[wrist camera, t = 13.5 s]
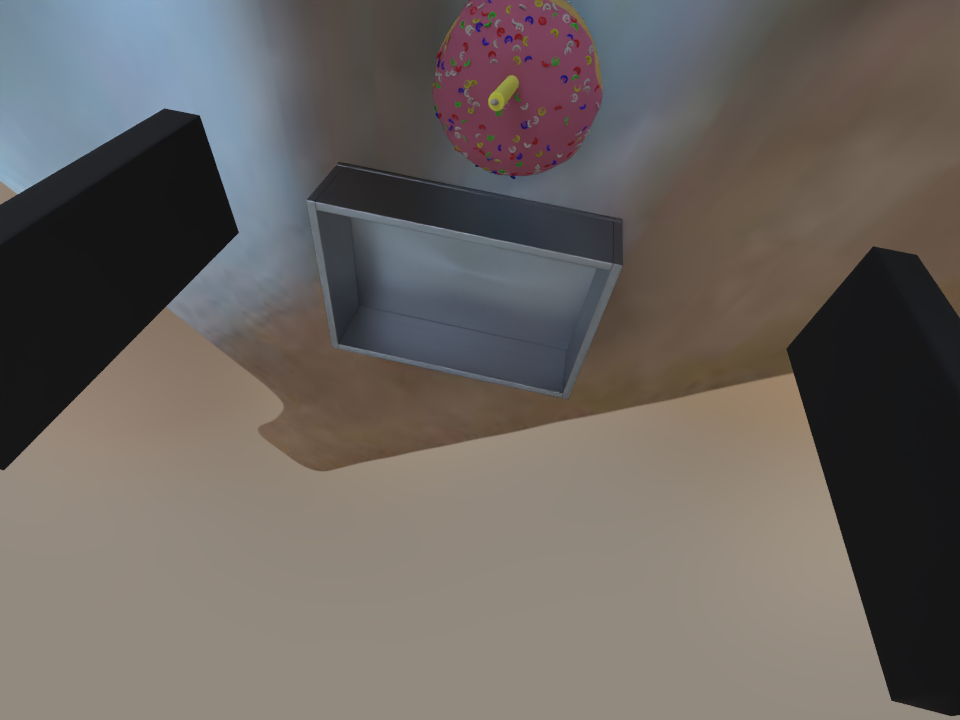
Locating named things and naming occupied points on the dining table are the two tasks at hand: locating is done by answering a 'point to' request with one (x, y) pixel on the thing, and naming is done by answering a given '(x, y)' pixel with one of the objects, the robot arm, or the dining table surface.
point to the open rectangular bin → (462, 277)
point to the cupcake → (517, 84)
